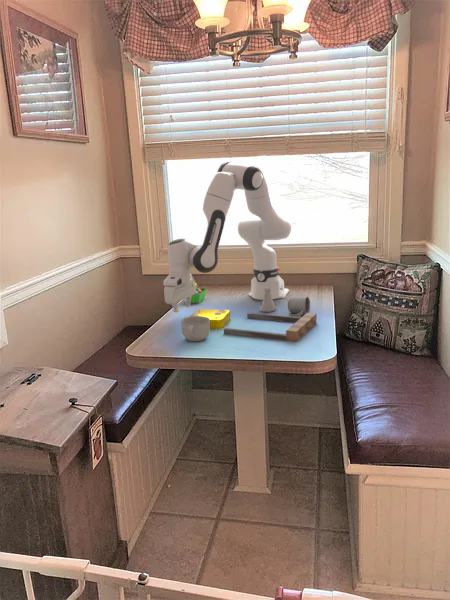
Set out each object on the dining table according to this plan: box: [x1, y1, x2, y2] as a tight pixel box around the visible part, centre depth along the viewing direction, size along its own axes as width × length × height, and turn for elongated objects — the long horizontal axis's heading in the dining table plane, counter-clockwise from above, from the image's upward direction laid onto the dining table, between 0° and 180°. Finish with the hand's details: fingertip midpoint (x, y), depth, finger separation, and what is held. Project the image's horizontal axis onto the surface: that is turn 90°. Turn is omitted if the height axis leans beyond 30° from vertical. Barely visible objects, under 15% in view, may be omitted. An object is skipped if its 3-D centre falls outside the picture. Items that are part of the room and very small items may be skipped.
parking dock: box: [223, 312, 317, 343], centre depth 203 cm, size 24×30×4 cm
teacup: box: [181, 315, 211, 342], centre depth 194 cm, size 14×11×8 cm
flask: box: [259, 288, 277, 313], centre depth 228 cm, size 7×7×10 cm
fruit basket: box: [190, 282, 207, 304], centre depth 251 cm, size 11×9×11 cm
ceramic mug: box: [287, 295, 311, 317], centre depth 220 cm, size 11×8×8 cm
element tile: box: [190, 308, 231, 330], centre depth 215 cm, size 15×15×5 cm
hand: (182, 309), depth 221 cm, fingers open, 8 cm apart
